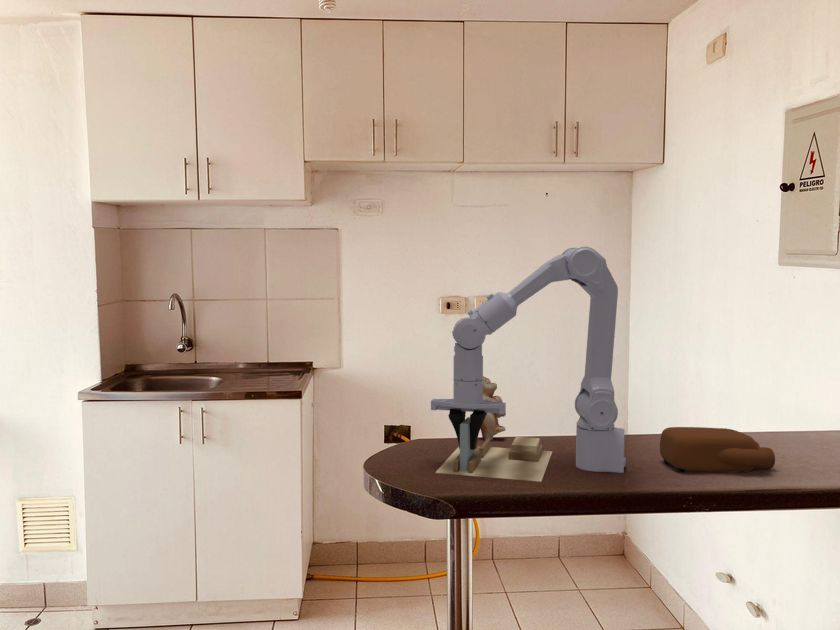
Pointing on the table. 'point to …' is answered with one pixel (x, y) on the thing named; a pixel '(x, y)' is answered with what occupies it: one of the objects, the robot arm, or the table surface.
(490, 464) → the rack
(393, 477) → the table surface
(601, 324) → the robot arm
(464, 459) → the grey blue slab
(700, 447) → the toy
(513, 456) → the plate
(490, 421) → the figurine
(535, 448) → the offcut top
